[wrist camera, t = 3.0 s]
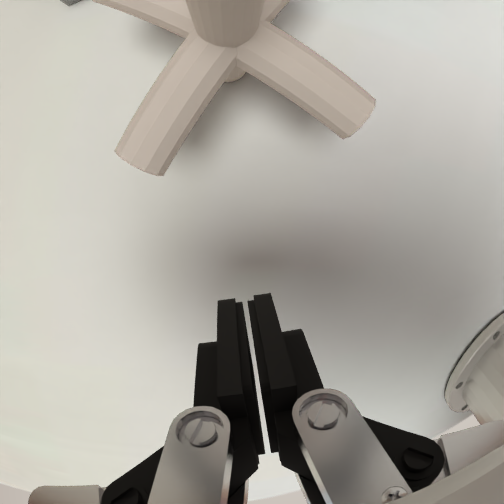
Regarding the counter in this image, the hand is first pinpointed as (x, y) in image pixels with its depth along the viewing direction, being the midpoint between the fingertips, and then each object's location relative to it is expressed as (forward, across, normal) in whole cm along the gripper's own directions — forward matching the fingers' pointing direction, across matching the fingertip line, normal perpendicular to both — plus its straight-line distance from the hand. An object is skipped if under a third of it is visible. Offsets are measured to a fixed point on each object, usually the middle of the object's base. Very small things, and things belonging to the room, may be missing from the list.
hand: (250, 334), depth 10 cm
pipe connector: (+7, -1, -10) cm, 12 cm away
